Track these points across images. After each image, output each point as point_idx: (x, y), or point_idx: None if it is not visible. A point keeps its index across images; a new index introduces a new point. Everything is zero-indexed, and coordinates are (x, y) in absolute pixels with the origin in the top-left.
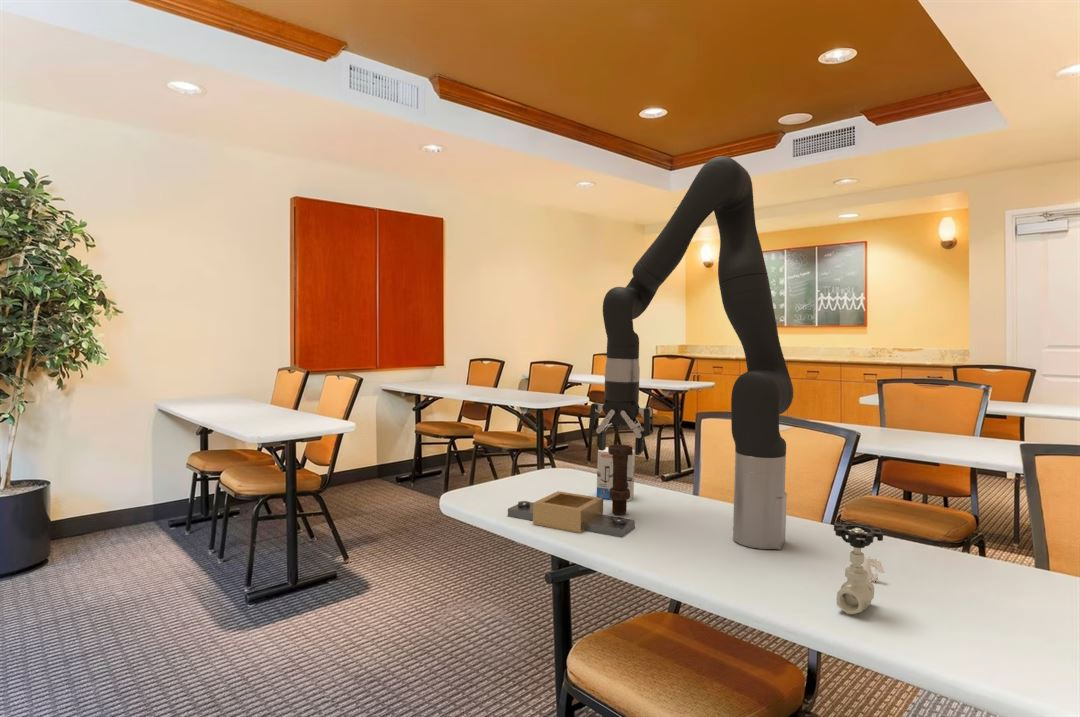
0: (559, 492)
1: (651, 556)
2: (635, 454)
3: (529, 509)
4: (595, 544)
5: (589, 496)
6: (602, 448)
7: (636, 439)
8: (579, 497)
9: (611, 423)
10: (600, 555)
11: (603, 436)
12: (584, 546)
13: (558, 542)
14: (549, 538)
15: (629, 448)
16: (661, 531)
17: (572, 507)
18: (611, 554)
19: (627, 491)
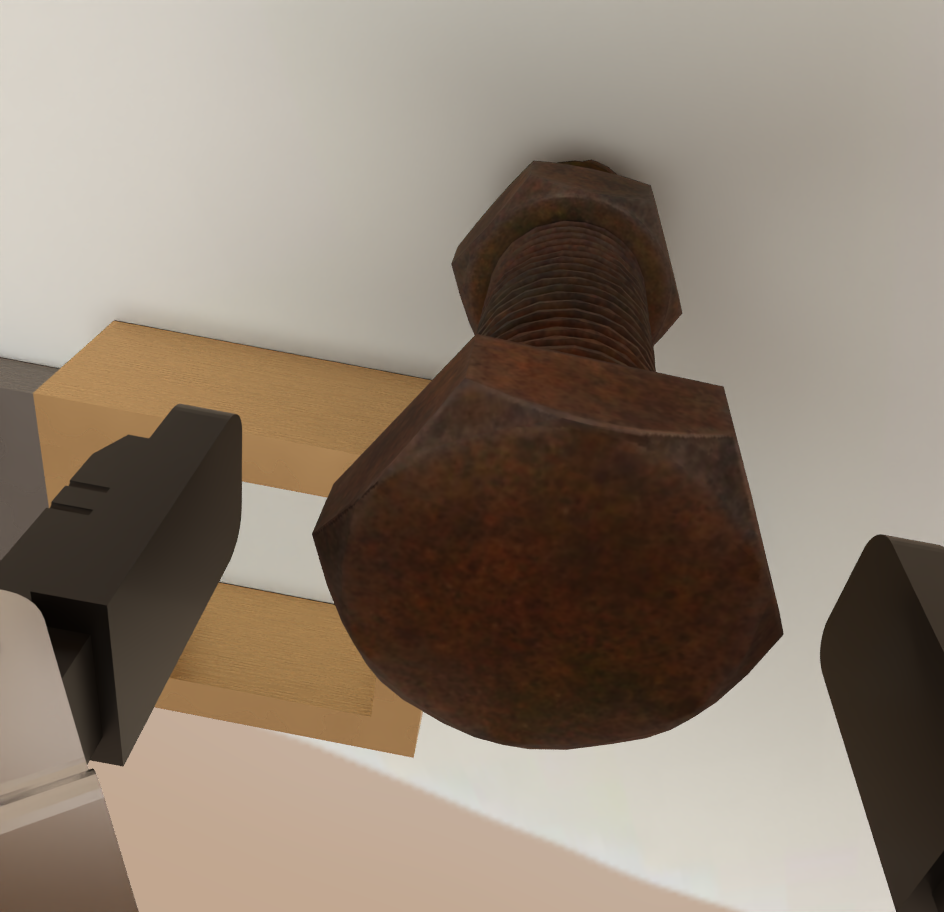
0: (68, 427)
1: (838, 822)
2: (824, 645)
3: (9, 519)
4: (554, 759)
5: (339, 460)
6: (229, 538)
7: (911, 891)
8: (270, 483)
9: (110, 824)
10: (607, 848)
11: (142, 668)
12: (511, 786)
13: (382, 771)
14: (321, 741)
15: (730, 686)
16: (919, 510)
17: (338, 715)
18: (652, 833)
19: (657, 337)
